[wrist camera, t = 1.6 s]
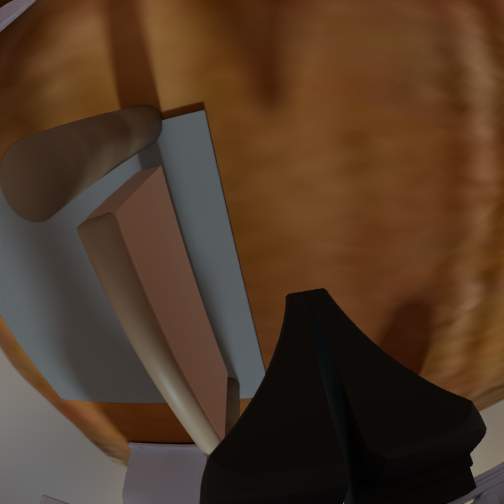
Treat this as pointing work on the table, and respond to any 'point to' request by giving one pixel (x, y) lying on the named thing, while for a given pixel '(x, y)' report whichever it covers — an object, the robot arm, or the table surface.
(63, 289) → the mat
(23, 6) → the water lily
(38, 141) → the brown wooden posts
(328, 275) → the table surface
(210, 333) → the brown rimmed panel
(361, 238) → the table surface
